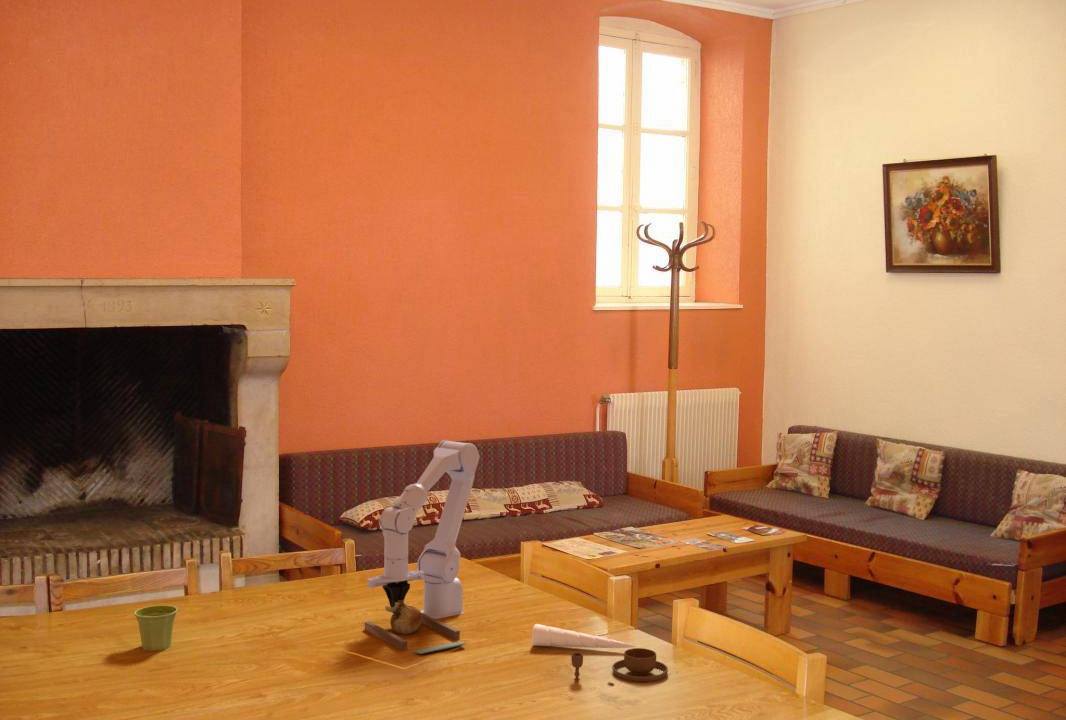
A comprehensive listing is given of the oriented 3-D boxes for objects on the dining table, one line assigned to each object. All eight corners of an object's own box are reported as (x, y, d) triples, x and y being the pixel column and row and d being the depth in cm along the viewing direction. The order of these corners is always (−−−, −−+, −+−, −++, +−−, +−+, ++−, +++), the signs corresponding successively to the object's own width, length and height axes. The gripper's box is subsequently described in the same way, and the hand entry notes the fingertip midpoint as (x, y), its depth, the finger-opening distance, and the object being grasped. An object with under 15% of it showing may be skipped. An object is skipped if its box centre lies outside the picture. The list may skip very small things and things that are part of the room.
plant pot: (125, 650, 247) (125, 612, 246) (157, 639, 255) (157, 602, 255) (155, 657, 243) (155, 618, 242) (187, 645, 251) (186, 608, 250)
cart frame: (419, 621, 271) (419, 611, 271) (459, 641, 256) (459, 630, 256) (364, 632, 262) (364, 622, 262) (402, 653, 247) (402, 642, 247)
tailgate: (409, 650, 248) (420, 652, 244) (454, 641, 255) (466, 642, 251) (409, 652, 248) (420, 653, 244) (455, 642, 255) (466, 644, 251)
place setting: (664, 692, 226) (664, 664, 226) (568, 684, 230) (569, 656, 230) (670, 664, 243) (671, 638, 243) (581, 657, 247) (581, 632, 247)
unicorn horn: (633, 662, 250) (629, 668, 245) (533, 641, 256) (528, 646, 251) (636, 641, 249) (632, 647, 245) (536, 621, 255) (530, 626, 251)
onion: (406, 641, 256) (406, 607, 255) (382, 634, 261) (382, 601, 260) (428, 633, 262) (429, 600, 261) (405, 626, 267) (405, 594, 266)
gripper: (414, 550, 272) (414, 604, 272) (361, 557, 263) (361, 613, 264) (428, 555, 266) (428, 610, 267) (375, 563, 257) (375, 620, 258)
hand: (395, 612), depth 265 cm, fingers closed
